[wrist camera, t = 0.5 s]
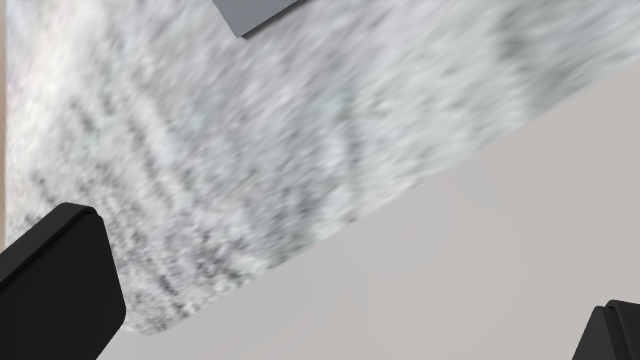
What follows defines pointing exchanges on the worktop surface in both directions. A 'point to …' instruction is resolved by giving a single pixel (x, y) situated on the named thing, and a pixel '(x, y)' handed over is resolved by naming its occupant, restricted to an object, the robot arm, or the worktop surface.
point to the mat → (249, 12)
